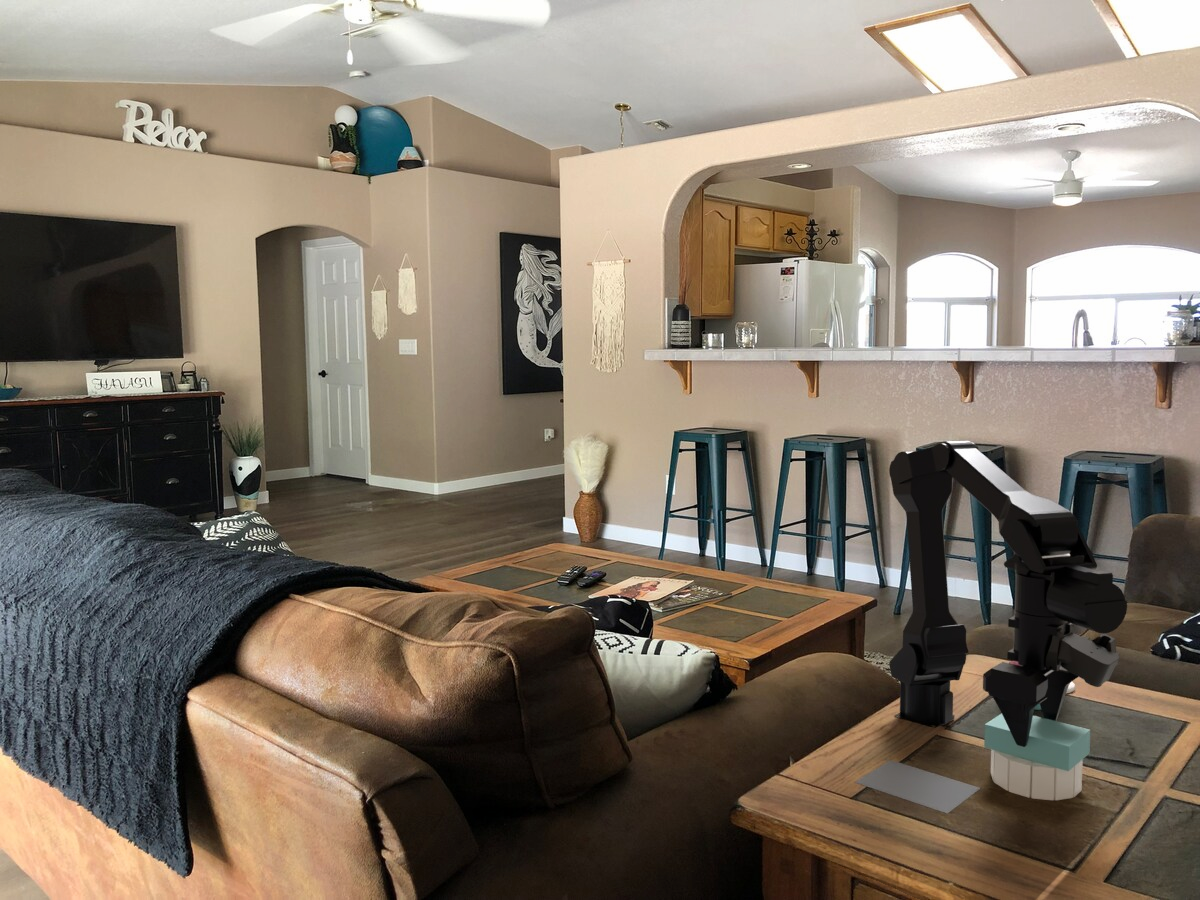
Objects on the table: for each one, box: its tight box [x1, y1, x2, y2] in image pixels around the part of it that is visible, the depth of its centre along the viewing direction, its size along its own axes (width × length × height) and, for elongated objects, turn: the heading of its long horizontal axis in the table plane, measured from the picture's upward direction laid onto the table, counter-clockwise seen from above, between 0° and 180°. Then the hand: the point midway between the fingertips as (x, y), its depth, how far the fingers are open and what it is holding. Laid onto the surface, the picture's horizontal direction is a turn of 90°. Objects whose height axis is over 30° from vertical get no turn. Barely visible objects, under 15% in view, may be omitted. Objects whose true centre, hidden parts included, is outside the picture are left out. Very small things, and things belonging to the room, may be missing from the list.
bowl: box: [990, 749, 1084, 801], centre depth 118 cm, size 10×10×4 cm
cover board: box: [983, 713, 1091, 771], centre depth 118 cm, size 10×7×3 cm
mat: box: [854, 759, 982, 815], centre depth 118 cm, size 12×9×1 cm
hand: (1036, 734), depth 118 cm, fingers open, 9 cm apart
